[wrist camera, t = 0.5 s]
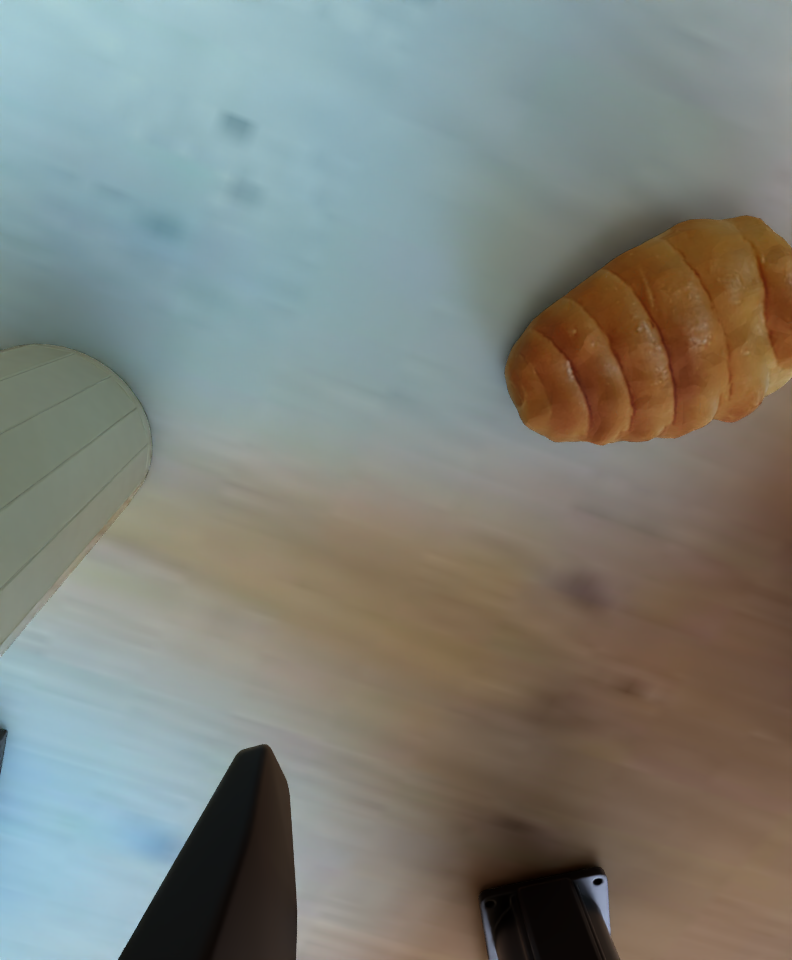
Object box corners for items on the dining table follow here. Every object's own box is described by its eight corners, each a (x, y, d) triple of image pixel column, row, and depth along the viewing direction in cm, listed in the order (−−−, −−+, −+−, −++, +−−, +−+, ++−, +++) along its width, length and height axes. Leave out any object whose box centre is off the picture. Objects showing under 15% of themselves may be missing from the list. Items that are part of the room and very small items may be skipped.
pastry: (530, 474, 23) (565, 512, 20) (473, 301, 21) (502, 309, 17) (766, 381, 23) (846, 403, 19) (735, 195, 20) (820, 180, 17)
